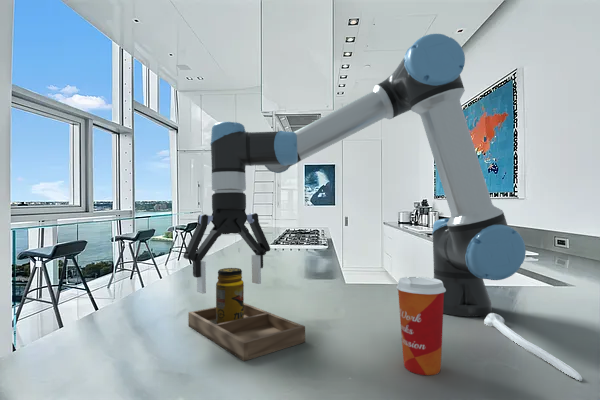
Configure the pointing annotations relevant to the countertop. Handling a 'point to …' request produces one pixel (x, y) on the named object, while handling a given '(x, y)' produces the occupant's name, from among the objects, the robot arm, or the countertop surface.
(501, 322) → the white nail
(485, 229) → the robot arm
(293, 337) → the caddy
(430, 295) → the paper cup
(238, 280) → the condiment
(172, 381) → the countertop surface
